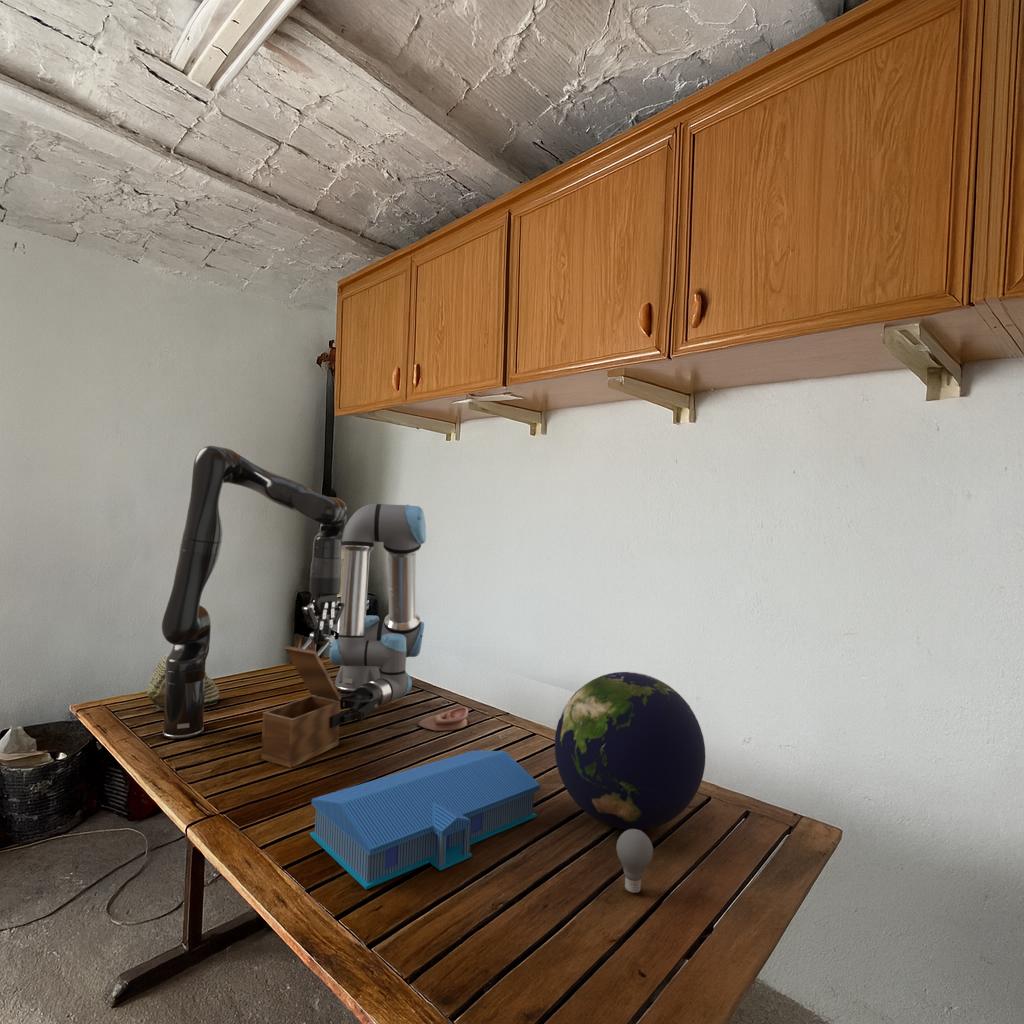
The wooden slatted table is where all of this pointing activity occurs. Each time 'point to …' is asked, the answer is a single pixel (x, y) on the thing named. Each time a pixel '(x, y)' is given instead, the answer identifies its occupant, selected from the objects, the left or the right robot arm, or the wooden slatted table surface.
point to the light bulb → (634, 857)
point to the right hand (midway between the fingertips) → (315, 718)
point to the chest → (299, 730)
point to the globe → (630, 751)
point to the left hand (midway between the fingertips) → (321, 642)
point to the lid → (314, 668)
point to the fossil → (158, 687)
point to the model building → (423, 815)
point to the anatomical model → (446, 720)
